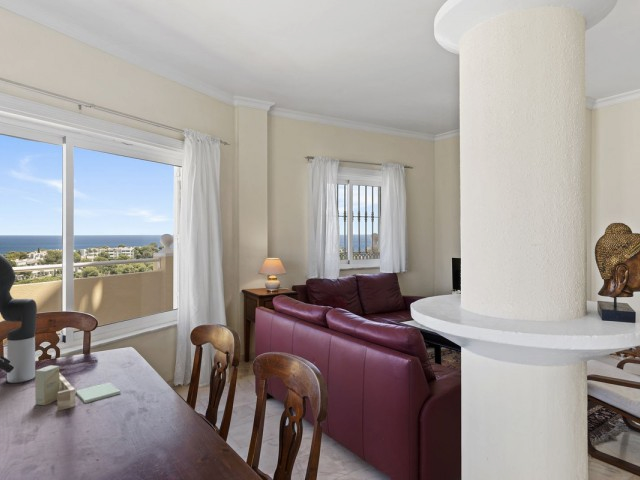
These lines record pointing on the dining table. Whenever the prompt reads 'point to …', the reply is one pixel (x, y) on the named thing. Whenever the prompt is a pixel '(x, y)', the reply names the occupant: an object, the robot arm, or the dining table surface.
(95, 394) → the sage tile
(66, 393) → the beige long angular piece
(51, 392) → the skincare box
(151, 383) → the dining table surface
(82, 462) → the dining table surface
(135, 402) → the dining table surface
